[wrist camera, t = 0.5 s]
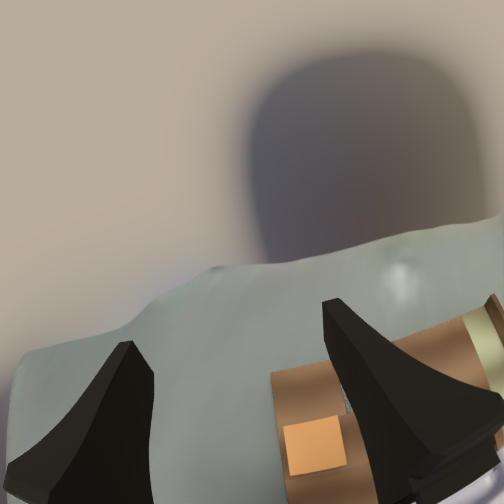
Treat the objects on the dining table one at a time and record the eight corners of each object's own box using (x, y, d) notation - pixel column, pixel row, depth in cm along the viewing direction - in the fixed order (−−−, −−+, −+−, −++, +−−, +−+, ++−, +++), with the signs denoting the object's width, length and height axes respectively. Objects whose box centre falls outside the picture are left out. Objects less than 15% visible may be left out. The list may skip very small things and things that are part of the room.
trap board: (525, 437, 13) (546, 429, 10) (295, 530, 16) (288, 540, 13) (481, 313, 24) (494, 293, 21) (273, 379, 27) (265, 365, 24)
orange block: (344, 464, 18) (347, 464, 15) (296, 473, 18) (290, 475, 16) (336, 422, 21) (337, 414, 18) (290, 432, 21) (283, 426, 18)
